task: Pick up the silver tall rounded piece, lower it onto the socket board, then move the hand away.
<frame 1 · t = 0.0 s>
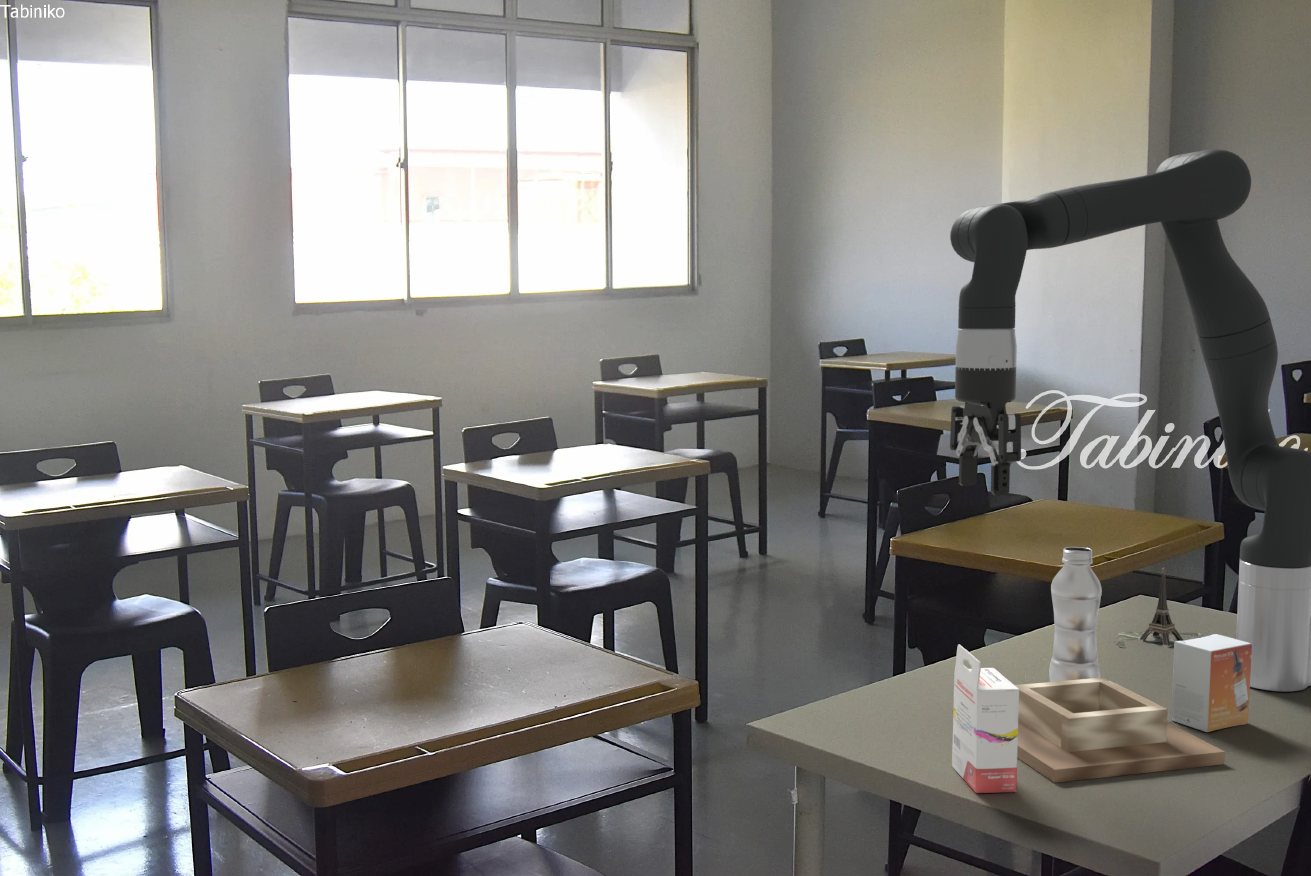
hand: (983, 489, 162), 29 cm above the table, tool pointing down, fingers open, 8 cm apart
socket board: (1085, 740, 153), on the table
eiffel tower figurine: (1161, 645, 198), on the table
silver tall rounded piece: (1073, 694, 172), on the table
small box: (1209, 723, 160), on the table
ink cartridge box: (983, 780, 141), on the table
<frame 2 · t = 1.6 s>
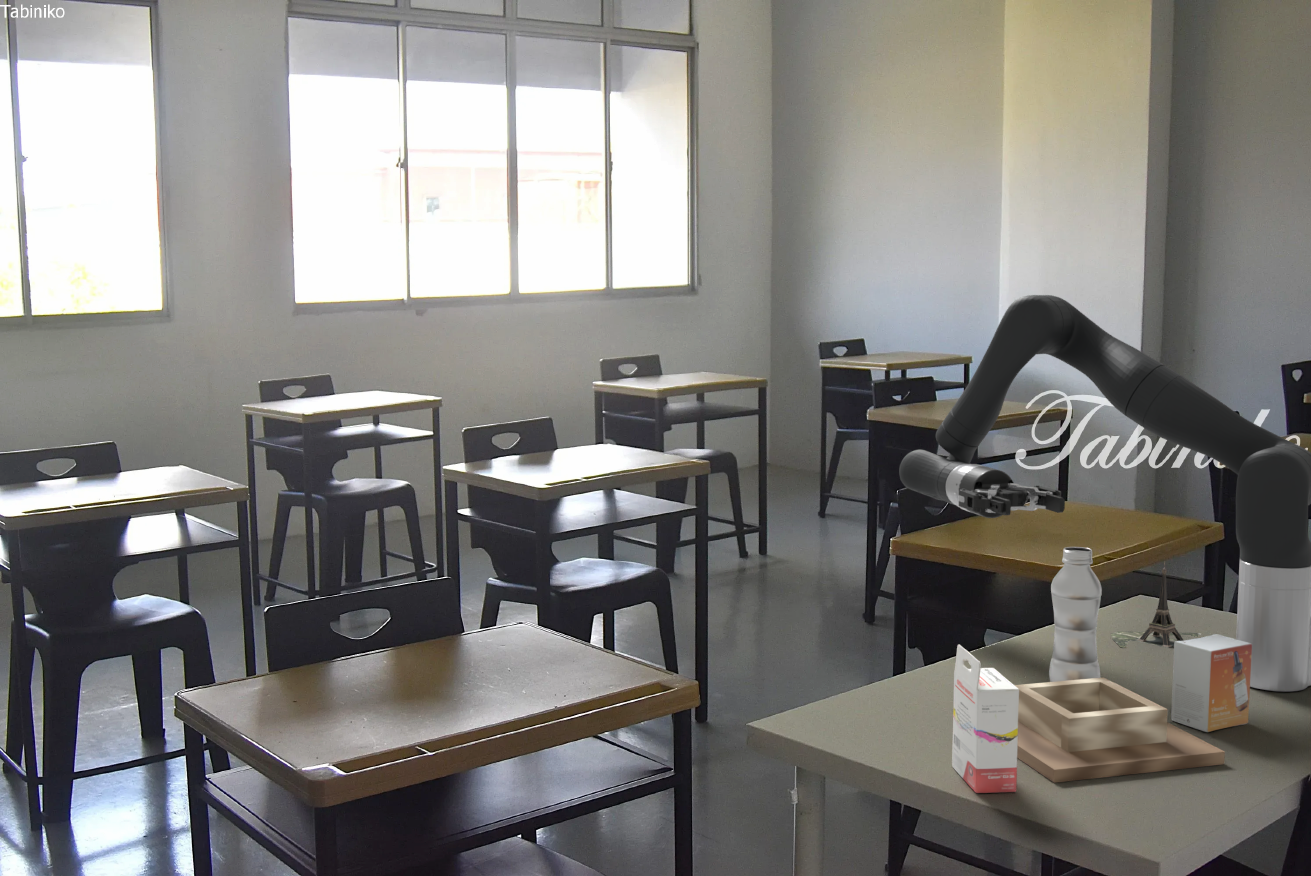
hand: (1035, 506, 180), 24 cm above the table, tool horizontal, fingers open, 8 cm apart
nothing on the table moved.
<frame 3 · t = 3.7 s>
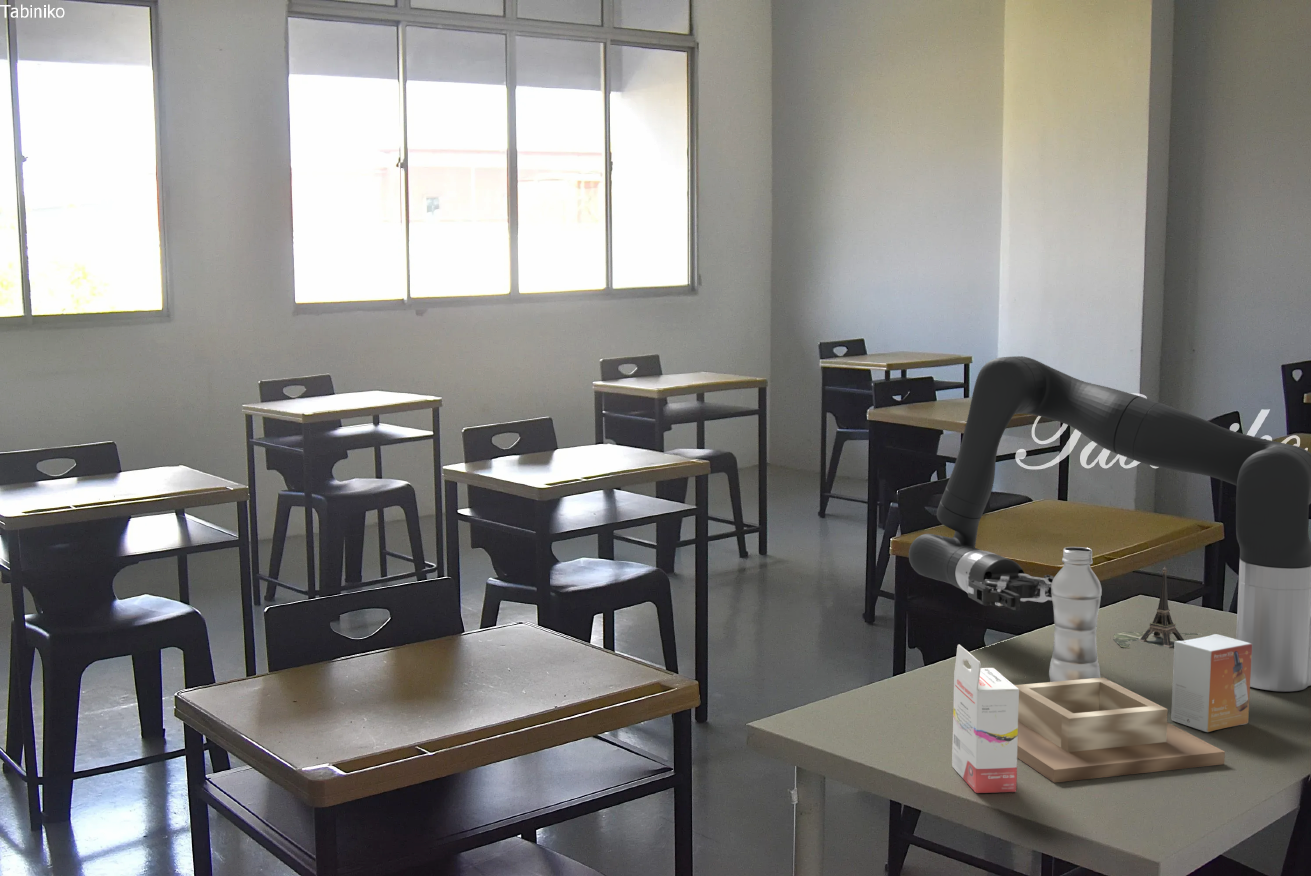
hand: (1045, 601, 178), 11 cm above the table, tool horizontal, fingers open, 8 cm apart
nothing on the table moved.
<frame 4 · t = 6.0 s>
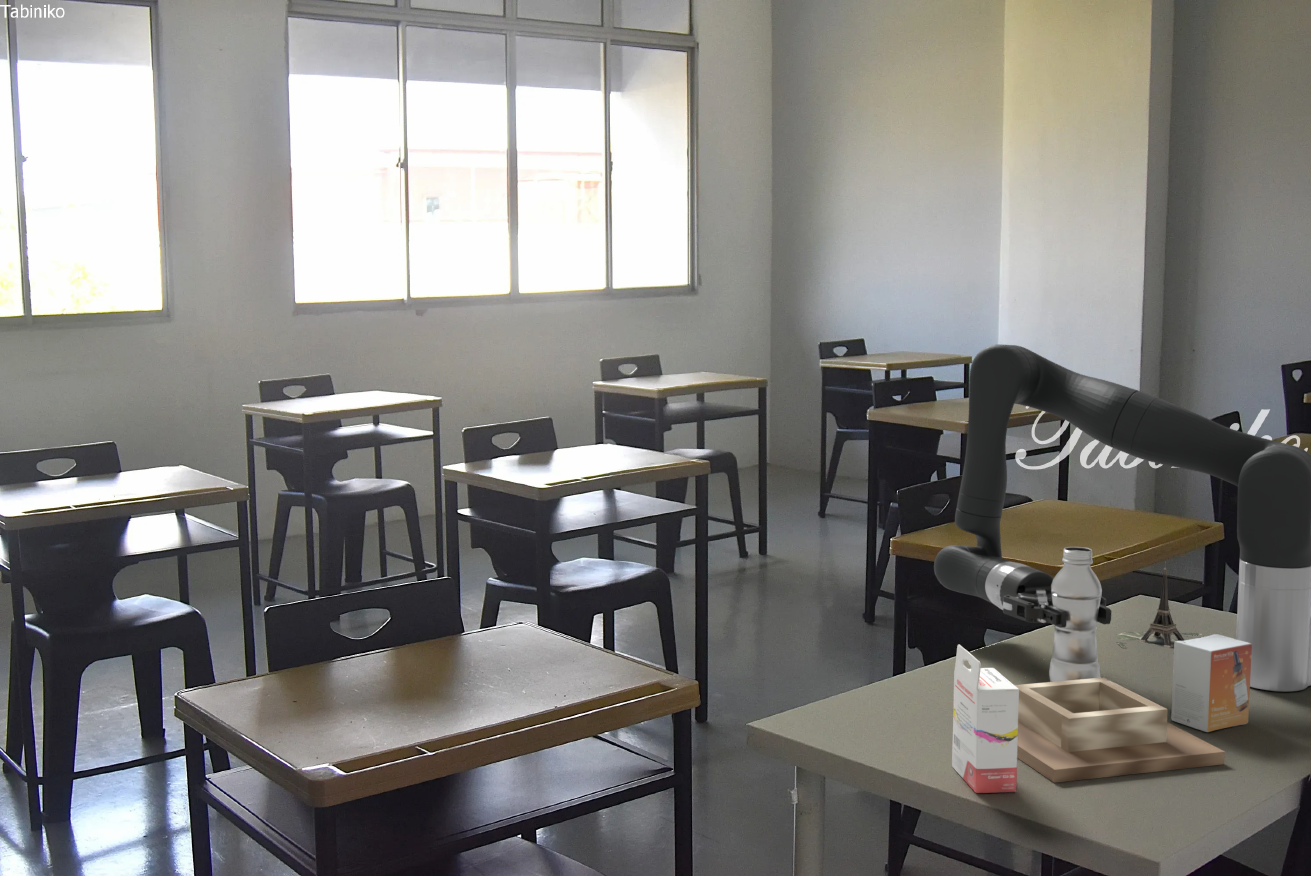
hand: (1086, 618, 168), 11 cm above the table, tool horizontal, fingers closed on silver tall rounded piece, 6 cm apart
silver tall rounded piece: (1073, 694, 172), on the table, touching gripper
everything else where it was.
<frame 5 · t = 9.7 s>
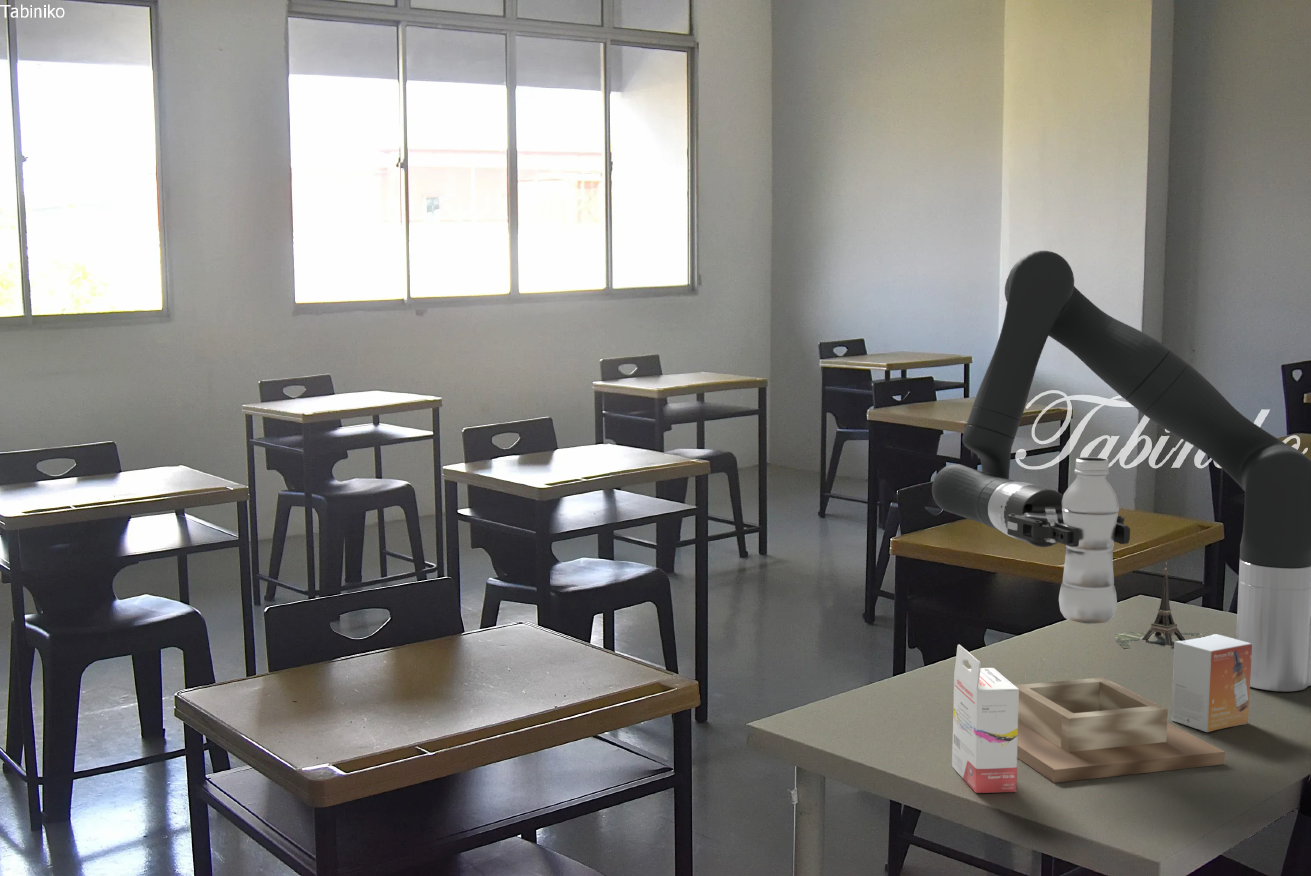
hand: (1101, 536, 149), 26 cm above the table, tool horizontal, fingers closed on silver tall rounded piece, 6 cm apart
silver tall rounded piece: (1086, 623, 152), point 14 cm above the table, touching gripper
everything else where it was.
when the fingers open (13 cm above the table, at t = 13.3 s): silver tall rounded piece stays where it is, resting on socket board.
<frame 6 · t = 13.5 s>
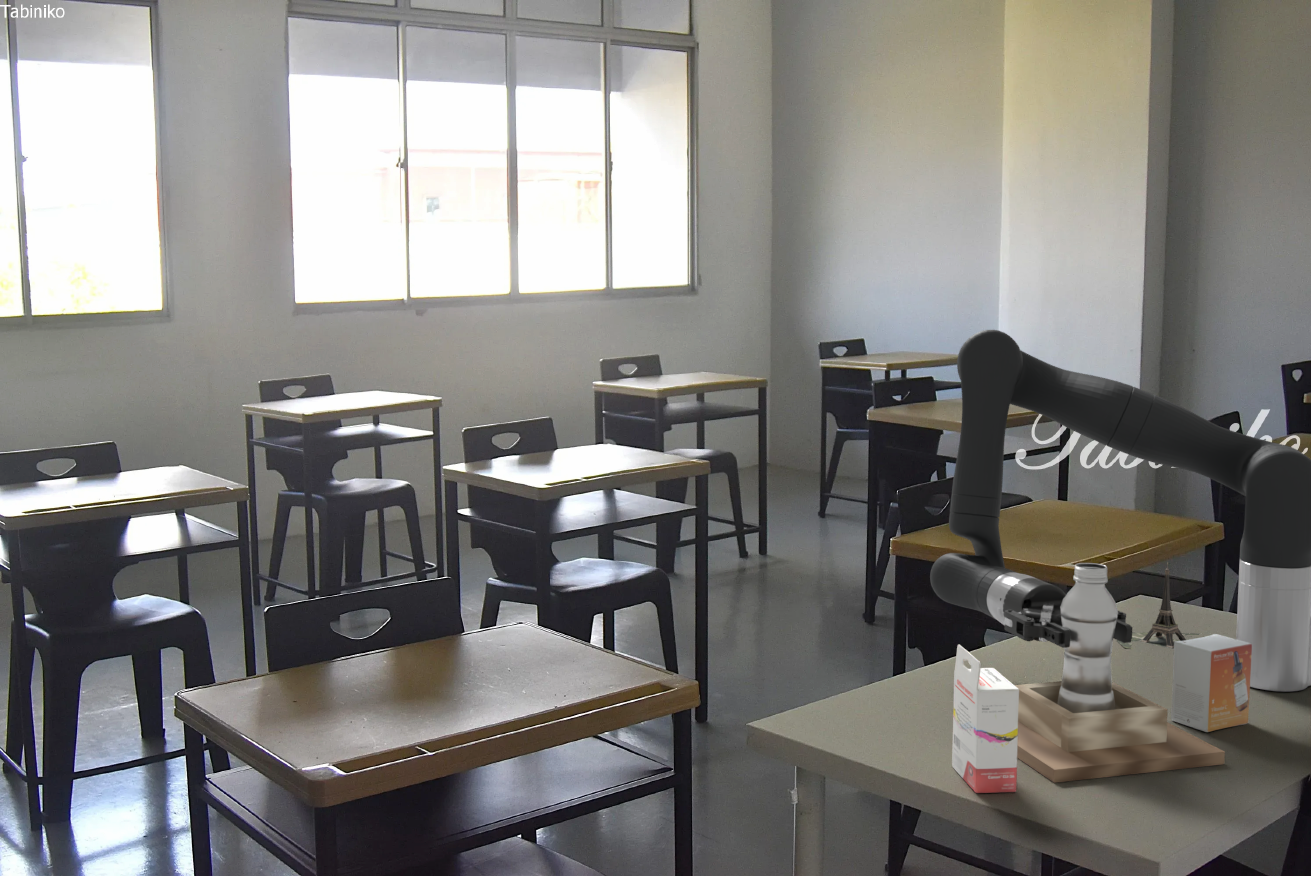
hand: (1098, 637, 150), 13 cm above the table, tool horizontal, fingers open, 8 cm apart
silver tall rounded piece: (1085, 727, 153), point 2 cm above the table, touching socket board
everything else where it was.
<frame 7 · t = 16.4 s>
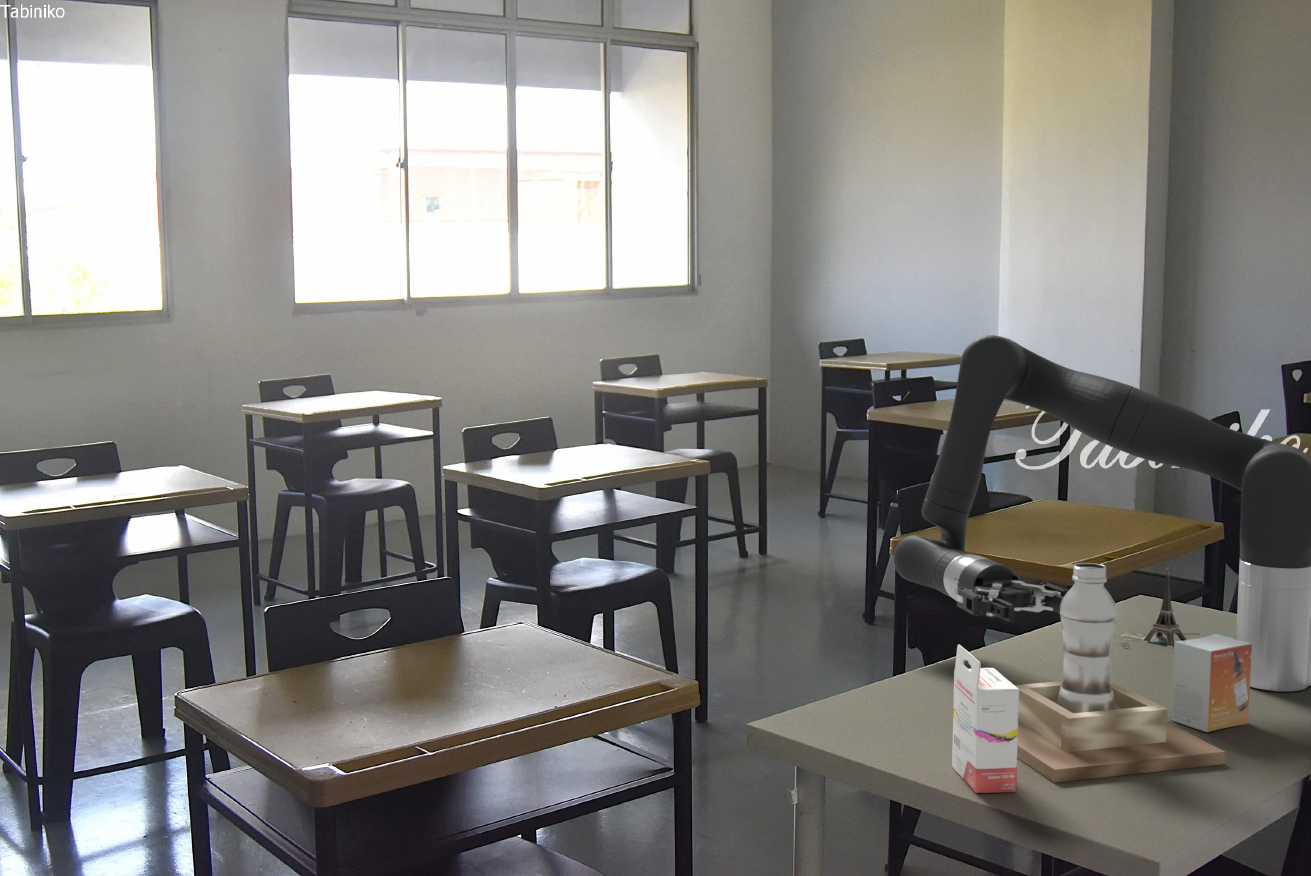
hand: (1041, 611, 162), 14 cm above the table, tool horizontal, fingers open, 8 cm apart
nothing on the table moved.
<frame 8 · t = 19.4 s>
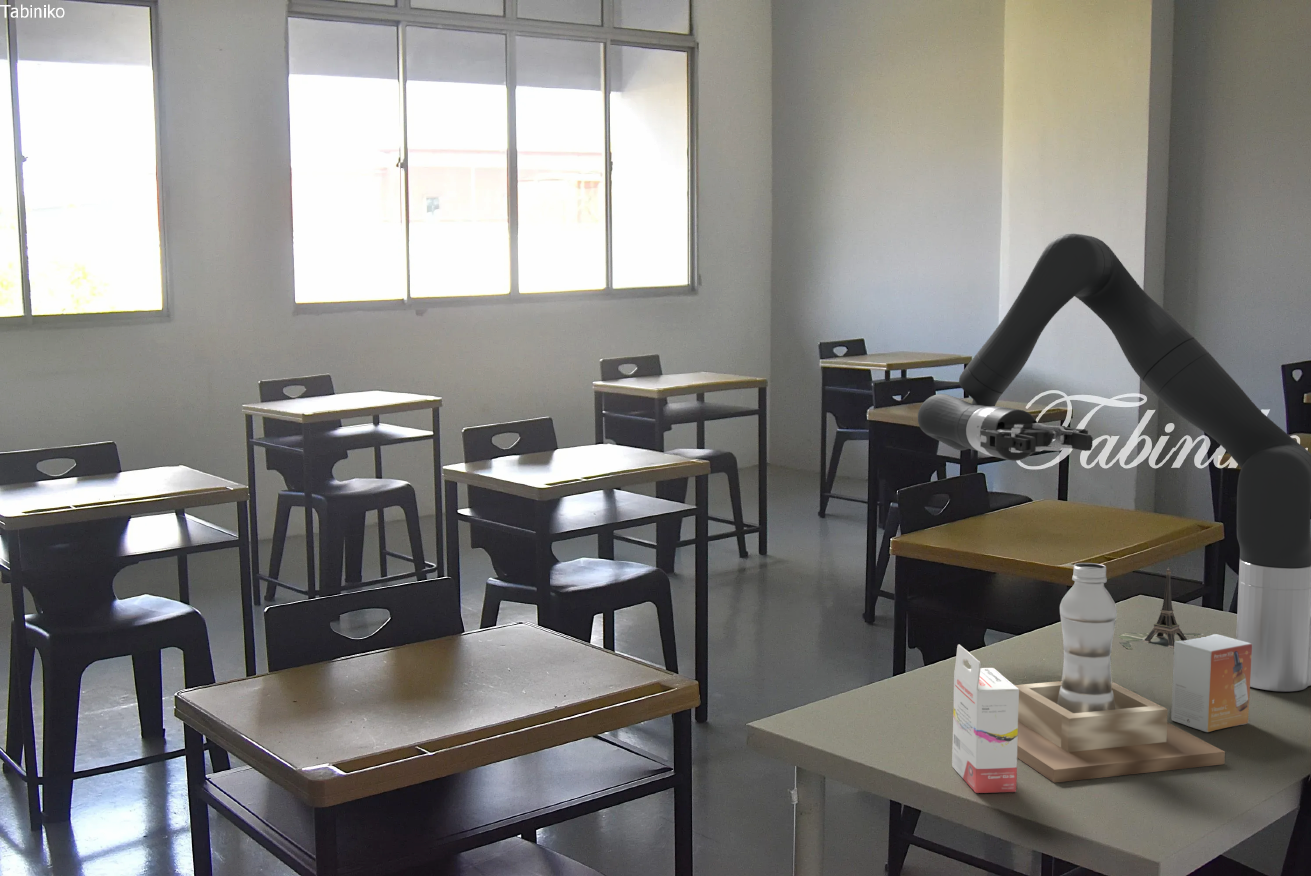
hand: (1061, 444, 171), 34 cm above the table, tool horizontal, fingers open, 8 cm apart
nothing on the table moved.
at the end: silver tall rounded piece 0.2 cm off-centre on the socket board, point 1.5 cm above the socket board's base; silver tall rounded piece tilted 0°; the gripper is holding nothing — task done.
